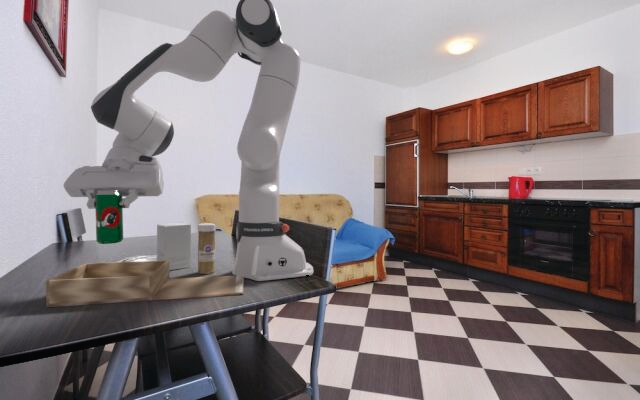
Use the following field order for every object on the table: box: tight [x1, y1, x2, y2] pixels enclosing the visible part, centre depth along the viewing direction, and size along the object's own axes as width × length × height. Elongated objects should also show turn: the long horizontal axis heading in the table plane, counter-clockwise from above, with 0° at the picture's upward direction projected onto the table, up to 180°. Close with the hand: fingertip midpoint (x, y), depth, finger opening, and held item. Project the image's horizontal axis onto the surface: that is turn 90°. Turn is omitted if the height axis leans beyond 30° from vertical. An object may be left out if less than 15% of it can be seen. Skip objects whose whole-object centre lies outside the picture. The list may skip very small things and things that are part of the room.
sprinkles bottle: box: [197, 222, 217, 275], centre depth 81 cm, size 5×5×13 cm
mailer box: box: [45, 260, 245, 308], centre depth 67 cm, size 36×14×5 cm, turn 104°
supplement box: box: [156, 222, 192, 271], centre depth 86 cm, size 7×7×13 cm
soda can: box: [95, 190, 124, 245], centre depth 68 cm, size 5×5×12 cm
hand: (107, 206), depth 67 cm, fingers closed on soda can, 5 cm apart
